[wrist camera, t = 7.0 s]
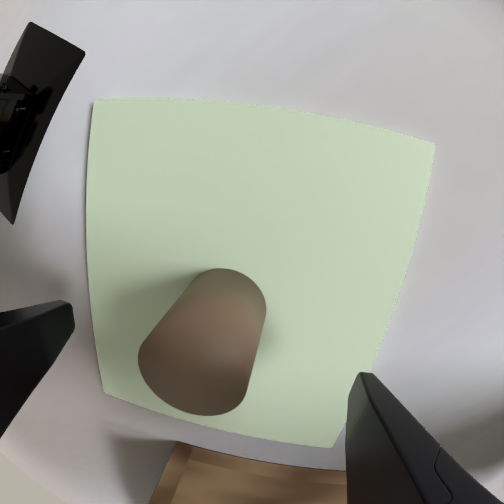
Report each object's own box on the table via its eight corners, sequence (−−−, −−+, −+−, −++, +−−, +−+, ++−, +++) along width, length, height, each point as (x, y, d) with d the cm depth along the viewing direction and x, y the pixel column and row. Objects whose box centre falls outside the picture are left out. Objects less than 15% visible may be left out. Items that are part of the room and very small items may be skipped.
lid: (423, 143, 10) (502, 144, 5) (331, 431, 14) (331, 514, 9) (111, 102, 11) (16, 90, 6) (114, 379, 15) (65, 442, 11)
